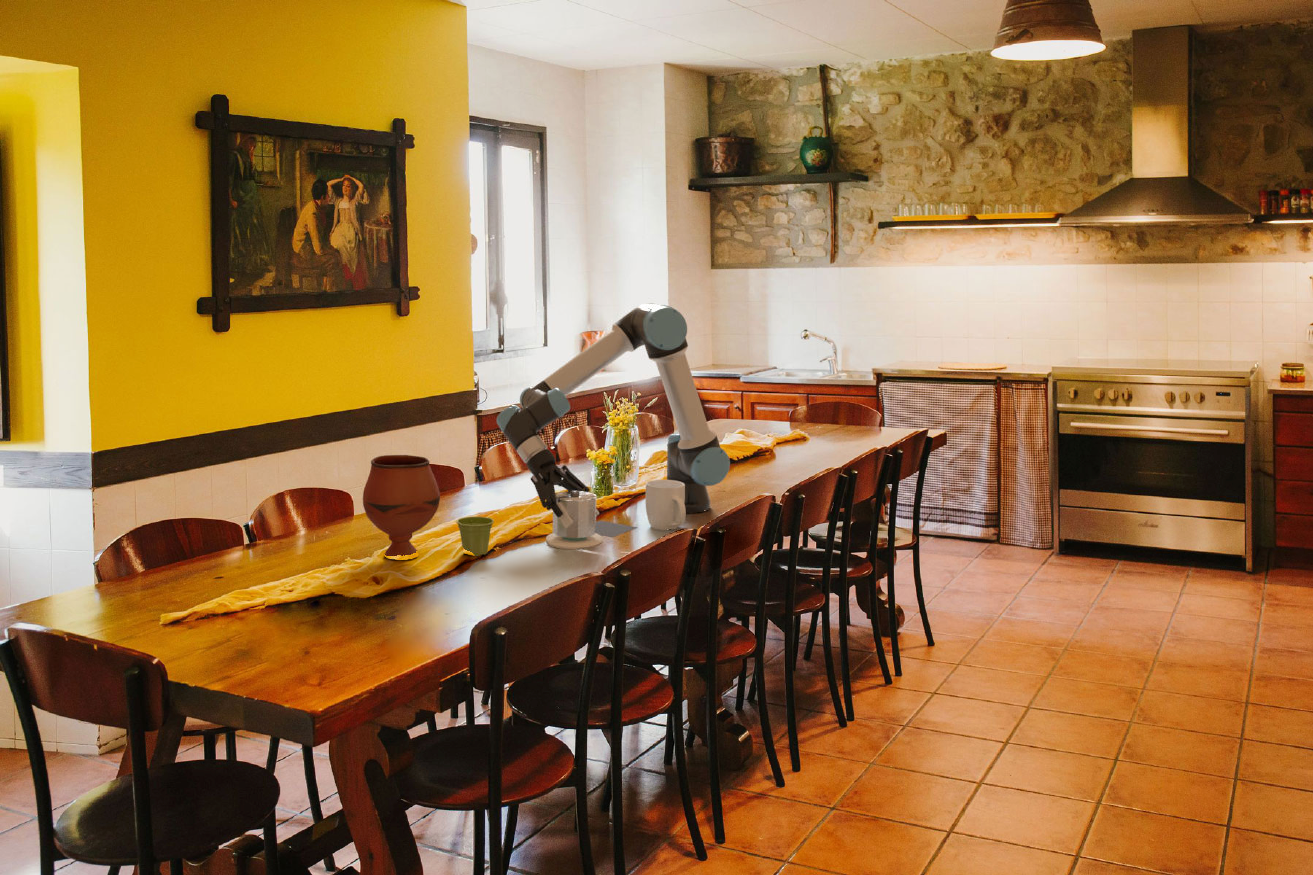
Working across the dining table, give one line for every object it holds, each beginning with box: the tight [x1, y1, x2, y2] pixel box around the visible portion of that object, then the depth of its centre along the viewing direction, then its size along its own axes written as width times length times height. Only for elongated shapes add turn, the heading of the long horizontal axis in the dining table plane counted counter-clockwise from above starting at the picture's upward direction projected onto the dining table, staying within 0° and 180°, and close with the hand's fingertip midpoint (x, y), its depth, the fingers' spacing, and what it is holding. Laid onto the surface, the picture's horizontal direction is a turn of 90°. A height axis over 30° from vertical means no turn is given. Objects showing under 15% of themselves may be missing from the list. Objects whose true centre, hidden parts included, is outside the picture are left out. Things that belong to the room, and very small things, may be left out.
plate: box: [545, 532, 604, 551], centre depth 309 cm, size 15×15×5 cm
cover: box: [552, 490, 597, 538], centre depth 308 cm, size 11×11×11 cm
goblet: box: [362, 454, 441, 556], centre depth 290 cm, size 19×19×25 cm
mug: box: [645, 479, 687, 531], centre depth 323 cm, size 15×11×13 cm
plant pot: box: [456, 516, 495, 557], centre depth 296 cm, size 9×9×9 cm
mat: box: [595, 520, 638, 538], centre depth 322 cm, size 13×13×1 cm
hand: (583, 520), depth 307 cm, fingers closed on cover, 11 cm apart
